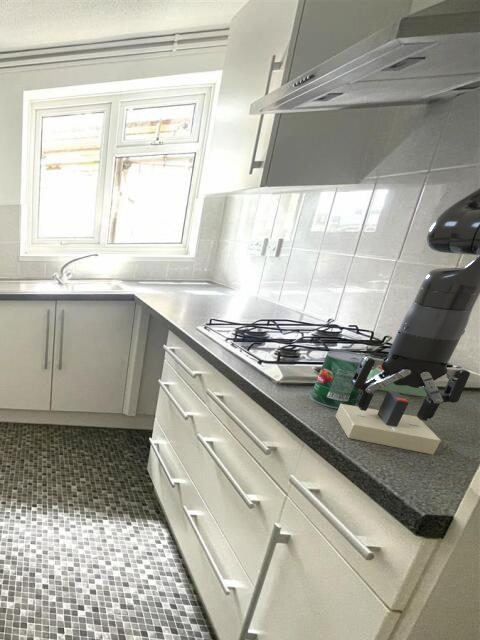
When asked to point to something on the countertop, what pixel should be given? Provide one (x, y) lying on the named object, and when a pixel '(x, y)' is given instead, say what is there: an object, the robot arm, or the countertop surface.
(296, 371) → the countertop surface
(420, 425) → the panel
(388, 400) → the oven knob
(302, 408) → the countertop surface
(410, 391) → the button block
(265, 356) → the countertop surface
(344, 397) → the canned tomato
